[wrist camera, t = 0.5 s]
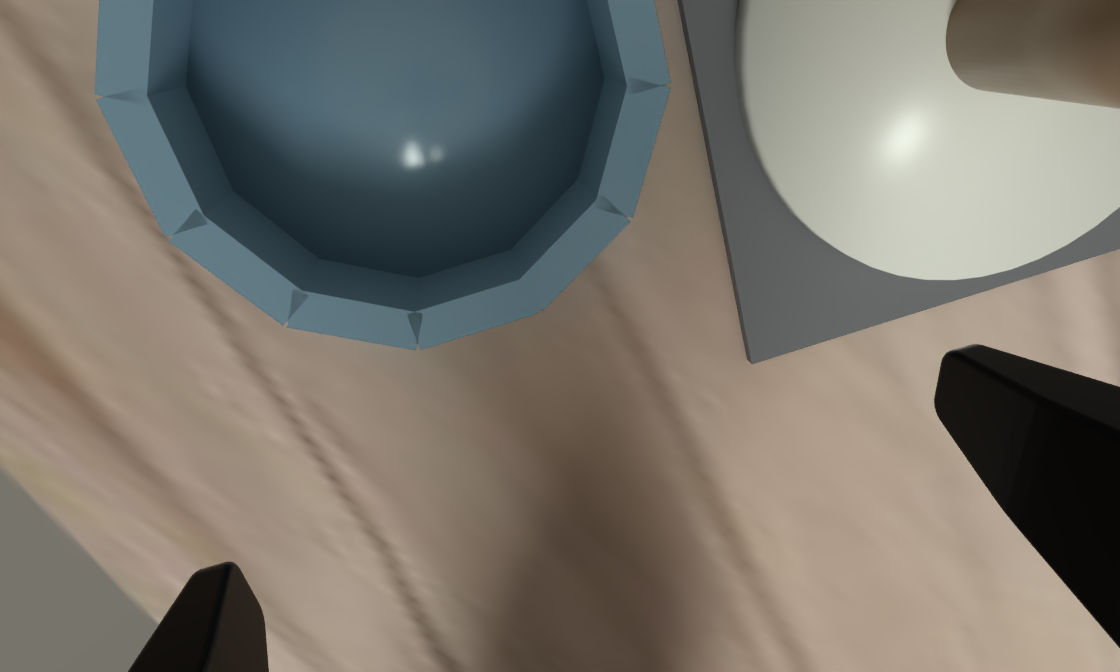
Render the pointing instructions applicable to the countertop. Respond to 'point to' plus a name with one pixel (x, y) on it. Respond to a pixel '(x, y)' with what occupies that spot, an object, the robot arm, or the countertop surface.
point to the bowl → (387, 149)
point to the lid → (935, 125)
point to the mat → (788, 246)
